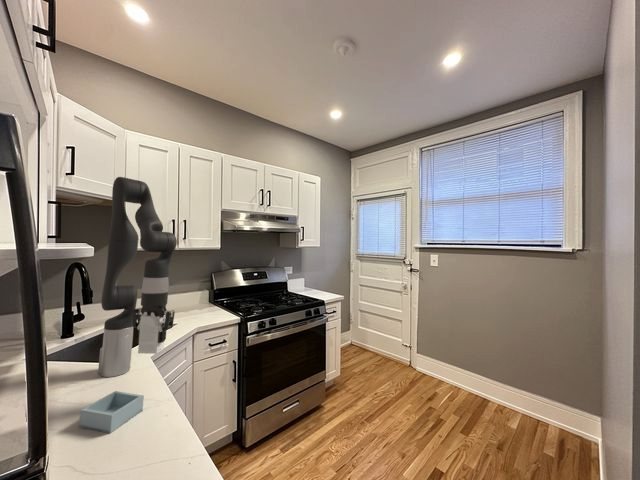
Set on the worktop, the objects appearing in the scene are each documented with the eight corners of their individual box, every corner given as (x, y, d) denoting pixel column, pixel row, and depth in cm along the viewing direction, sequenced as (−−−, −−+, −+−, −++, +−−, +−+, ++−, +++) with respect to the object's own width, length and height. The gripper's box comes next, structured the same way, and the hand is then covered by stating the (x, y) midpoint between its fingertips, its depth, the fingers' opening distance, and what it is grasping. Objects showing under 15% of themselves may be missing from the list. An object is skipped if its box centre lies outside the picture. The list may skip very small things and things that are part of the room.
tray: (78, 427, 70) (80, 409, 70) (114, 406, 80) (115, 391, 80) (110, 433, 68) (111, 415, 68) (142, 410, 78) (143, 395, 78)
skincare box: (163, 349, 89) (166, 313, 89) (156, 354, 84) (159, 316, 85) (145, 348, 88) (148, 313, 89) (137, 353, 84) (140, 316, 85)
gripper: (182, 290, 90) (178, 339, 89) (145, 288, 92) (141, 336, 91) (166, 293, 83) (162, 347, 82) (126, 290, 85) (122, 343, 84)
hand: (151, 341), depth 86 cm, fingers closed on skincare box, 6 cm apart
